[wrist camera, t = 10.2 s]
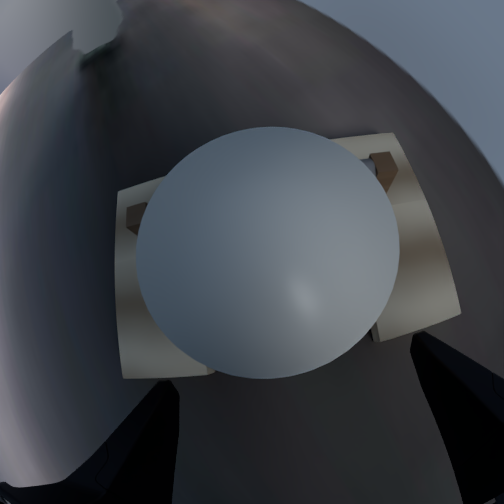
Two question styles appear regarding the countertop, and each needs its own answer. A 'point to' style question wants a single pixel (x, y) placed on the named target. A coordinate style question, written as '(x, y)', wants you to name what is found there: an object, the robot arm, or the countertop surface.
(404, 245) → the grey piece
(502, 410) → the robot arm
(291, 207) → the lidded paper cup
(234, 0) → the countertop surface
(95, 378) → the countertop surface
